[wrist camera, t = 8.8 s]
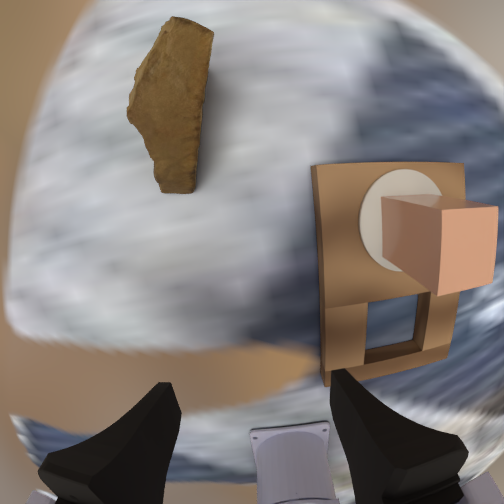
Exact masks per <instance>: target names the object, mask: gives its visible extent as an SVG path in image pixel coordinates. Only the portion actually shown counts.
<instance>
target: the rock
mask: <svg viewBox="0 0 504 504" xmlns="http://www.w3.org/2000/svg"><path fill="white" fill-rule="evenodd" d="M213 37H214V32H213V31H211V30H209V29H208V28H206V27H204V26H202V25H200V24H198V23H196V22H194V21H191V20H189V19H185V18H180V17H173V16H172V17H171V18H170V20H169V21H166V22H165V24H164V25H163V26H162V28H161V31H160V33H159V36H158V37H157V39H156V41H155V42H154V45H153V47H152V49H151V50H150V52H149V53H148V54H147V56H146V57H145V59H144V60H143V61H142V63H141V65H140V67H139V68H137V70H136V74H135V77H134V80H135V84H134V88H133V89H132V91H131V93H130V94H129V106H128V107H127V118H128V120H129V122H130V123H131V124H133V125H134V126H135V127H136V128H137V130H138V131H139V132H140V134H141V135H142V137H143V139H144V143H145V146H146V148H147V150H148V152H149V155H150V158H151V159H152V160H153V161H154V177H155V180H156V181H157V183H159V187H160V190H161V192H162V193H177V194H189V193H193V192H194V189H195V185H196V169H197V161H198V148H199V145H200V133H201V122H202V115H203V113H202V107H203V103H204V100H205V87H206V83H207V77H208V68H209V61H210V56H211V50H212V42H213Z"/></svg>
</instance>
